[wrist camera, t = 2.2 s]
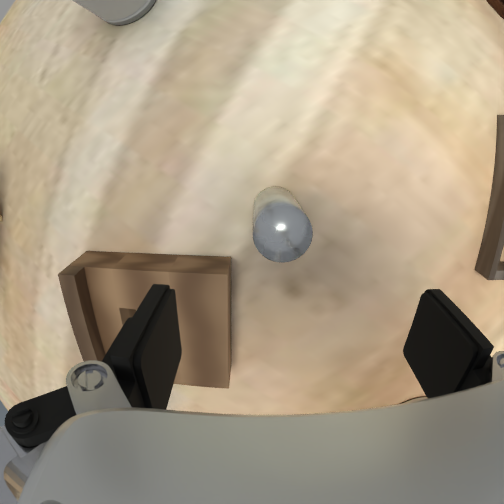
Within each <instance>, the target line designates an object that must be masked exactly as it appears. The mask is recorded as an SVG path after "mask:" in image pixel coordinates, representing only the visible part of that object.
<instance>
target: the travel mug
mask: <svg viewBox="0 0 504 504" xmlns="http://www.w3.org/2000/svg"><path fill="white" fill-rule="evenodd" d="M73 1H74V2H76V3H78V4H79V5H81V6H83V7H84V8H86V9H87V10H89V11H90V12H92V13H94V14H95V15H97V16H98V17H100V18H101V19H103V20H104V21H106V22H107V23H109V24H112V25H125V24H128V23H131V22H133V21H136V20H137V19H139V18H141V17H142V16H143V15H145V14H146V13H147V12H148V11H149V10H150V8H151V7H152V6H153V4H154V2H155V1H156V0H73Z"/></svg>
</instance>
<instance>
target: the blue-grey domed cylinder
mask: <svg viewBox="0 0 504 504" xmlns="http://www.w3.org/2000/svg"><path fill="white" fill-rule="evenodd" d="M312 233H313V232H312V226H311V223H310V221H309V219H308V217H307V216H306V214H305V213H304V211H303V210H302V208H301V207H300V205H299V203H298V202H297V200H296V199H295V197H294V196H293V195H292V193H291V192H290V191H288V190H287V189H285V188H282V187H277V186H275V187H269V188H266V189H264V190H263V191H261V192H260V193H259V194H258V196H257V197H256V199H255V202H254V212H253V240H254V243H255V246H256V248H257V249H258V251H259V252H260V253H261V254H262V255H263V256H264V257H266V258H267V259H269V260H272V261H275V262H289V261H293V260H295V259H297V258H299V257H300V256H302V255H303V254H304V253H305V252H306V250H307V249H308V248H309V246H310V244H311V241H312Z"/></svg>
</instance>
